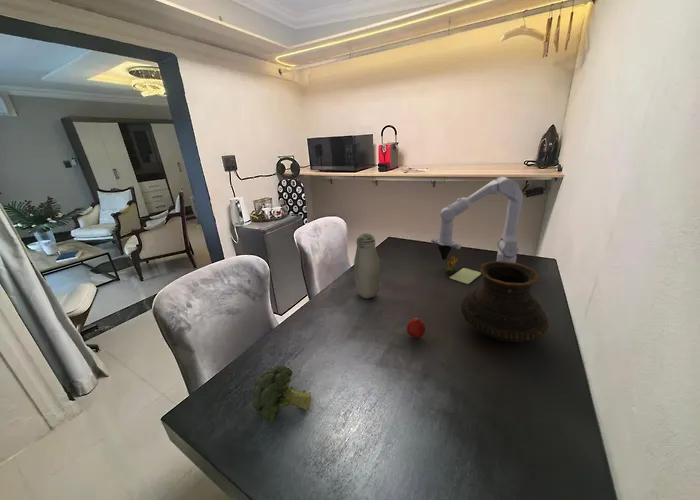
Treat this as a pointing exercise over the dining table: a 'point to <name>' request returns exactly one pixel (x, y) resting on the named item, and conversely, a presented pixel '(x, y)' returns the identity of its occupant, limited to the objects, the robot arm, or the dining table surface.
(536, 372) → the dining table surface
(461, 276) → the felt mat
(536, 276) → the ceramic pot
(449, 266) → the figurine
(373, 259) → the glass bottle
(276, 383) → the vegetable
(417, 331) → the onion
